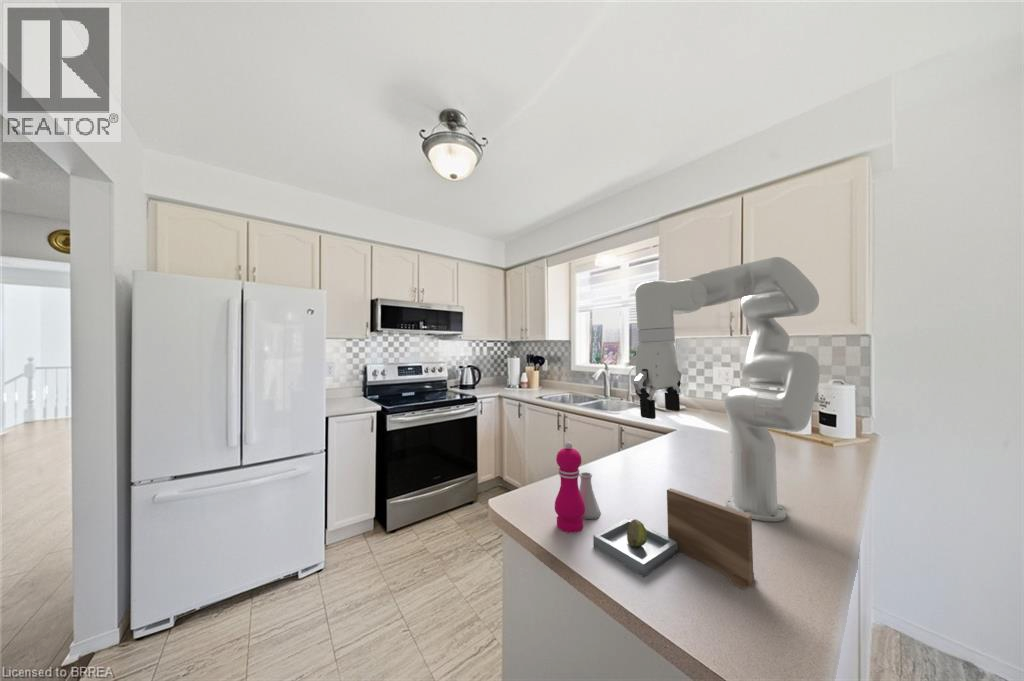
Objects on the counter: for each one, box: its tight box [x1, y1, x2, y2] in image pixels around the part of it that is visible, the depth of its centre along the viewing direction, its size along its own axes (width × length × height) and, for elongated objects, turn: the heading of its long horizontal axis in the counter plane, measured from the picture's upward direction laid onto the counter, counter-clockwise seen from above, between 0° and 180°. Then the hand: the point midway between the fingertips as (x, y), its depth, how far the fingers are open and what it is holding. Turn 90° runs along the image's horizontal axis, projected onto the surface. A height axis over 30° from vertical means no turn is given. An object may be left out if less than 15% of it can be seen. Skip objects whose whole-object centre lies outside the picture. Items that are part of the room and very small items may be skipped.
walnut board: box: [666, 487, 755, 590], centre depth 65 cm, size 5×15×12 cm, turn 35°
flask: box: [579, 471, 602, 520], centre depth 86 cm, size 7×7×10 cm
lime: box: [627, 519, 647, 547], centre depth 70 cm, size 4×5×5 cm
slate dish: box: [592, 518, 678, 578], centre depth 70 cm, size 12×12×2 cm
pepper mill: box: [554, 441, 585, 534], centre depth 80 cm, size 7×7×20 cm
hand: (660, 414), depth 74 cm, fingers open, 9 cm apart
